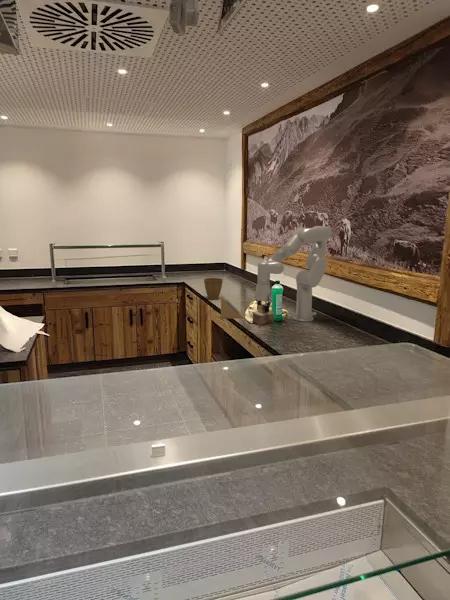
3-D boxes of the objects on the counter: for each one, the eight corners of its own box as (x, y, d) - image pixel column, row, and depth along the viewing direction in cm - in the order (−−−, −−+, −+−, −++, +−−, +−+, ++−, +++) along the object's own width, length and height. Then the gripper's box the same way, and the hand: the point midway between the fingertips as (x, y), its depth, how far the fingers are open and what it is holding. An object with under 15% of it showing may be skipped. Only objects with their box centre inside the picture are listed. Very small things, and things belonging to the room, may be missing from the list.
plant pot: (201, 300, 329) (200, 280, 326) (208, 296, 343) (208, 277, 340) (218, 301, 324) (218, 281, 321) (225, 298, 338) (225, 278, 334)
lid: (265, 312, 265) (265, 302, 264) (274, 315, 259) (274, 305, 257) (251, 314, 260) (252, 304, 258) (260, 317, 253) (260, 307, 251)
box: (264, 320, 266) (265, 311, 265) (273, 323, 260) (273, 313, 258) (252, 322, 261) (252, 313, 259) (260, 325, 254) (260, 315, 253)
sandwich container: (244, 318, 271) (244, 296, 268) (220, 318, 271) (220, 296, 268) (243, 315, 280) (244, 293, 277) (220, 315, 279) (220, 293, 276)
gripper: (250, 280, 260) (249, 309, 263) (268, 284, 246) (267, 314, 249) (259, 279, 264) (258, 307, 268) (277, 283, 250) (277, 312, 254)
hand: (263, 310), depth 259 cm, fingers open, 6 cm apart
